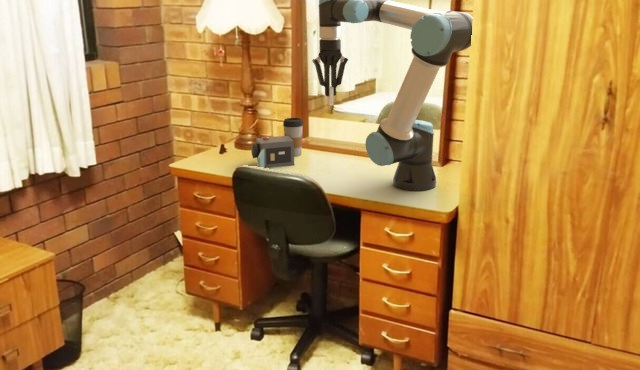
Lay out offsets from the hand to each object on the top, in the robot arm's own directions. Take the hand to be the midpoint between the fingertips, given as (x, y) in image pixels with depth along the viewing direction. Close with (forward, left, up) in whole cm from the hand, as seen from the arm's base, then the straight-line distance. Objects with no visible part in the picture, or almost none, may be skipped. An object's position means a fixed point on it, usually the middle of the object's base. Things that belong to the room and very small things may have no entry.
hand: (330, 104), depth 228 cm
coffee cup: (+31, +6, -27) cm, 41 cm away
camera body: (+20, +18, -26) cm, 38 cm away
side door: (+10, +25, -26) cm, 37 cm away
